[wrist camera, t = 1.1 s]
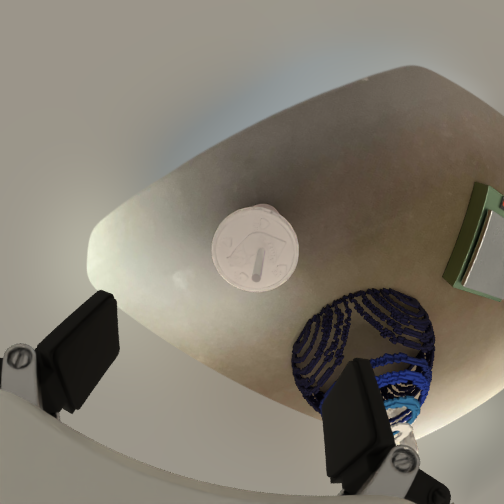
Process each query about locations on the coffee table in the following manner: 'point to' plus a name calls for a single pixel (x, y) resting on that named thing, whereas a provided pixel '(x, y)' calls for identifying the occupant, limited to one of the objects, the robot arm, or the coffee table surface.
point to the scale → (472, 234)
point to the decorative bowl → (404, 377)
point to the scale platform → (488, 259)
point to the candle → (408, 439)
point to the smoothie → (255, 249)
